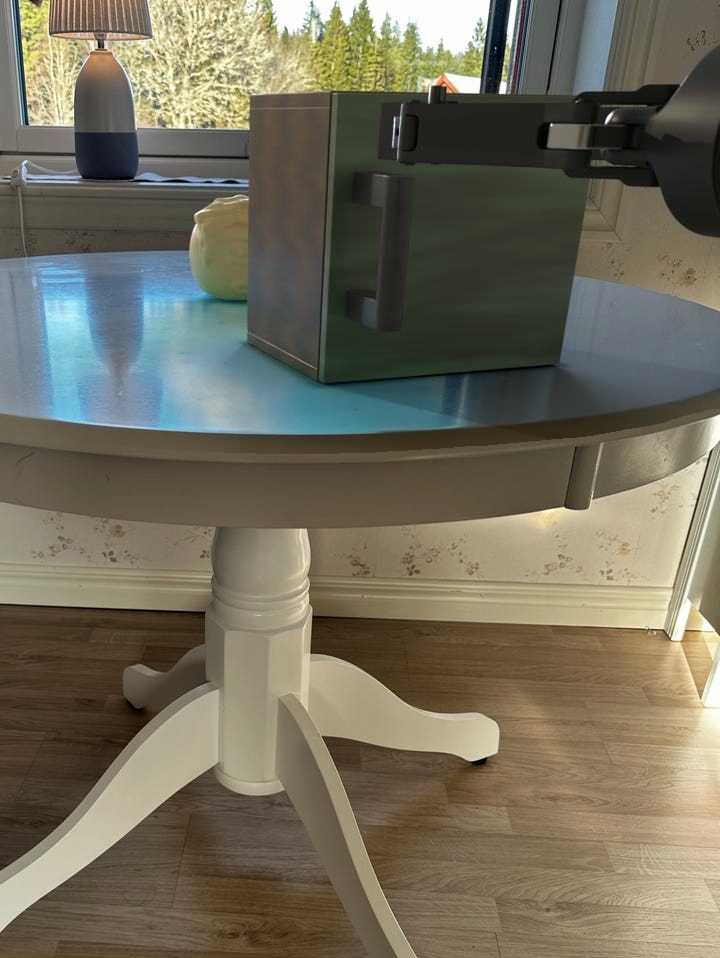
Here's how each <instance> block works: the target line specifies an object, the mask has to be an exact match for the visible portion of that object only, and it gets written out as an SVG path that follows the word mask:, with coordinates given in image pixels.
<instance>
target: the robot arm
mask: <svg viewBox="0 0 720 958" xmlns="http://www.w3.org/2000/svg"><path fill="white" fill-rule="evenodd" d="M428 92H429V101H424V102H420V100H409V102H388V103H381V117H380V131H379V145H378V159H383V160H396V161H397V162H399V163H402V164H404V165H406V166H414V165H415V164H417V163H430V164H431V165H440V164H460V165H484V166H508V167H532V168H549V169H563V171H564V173H565V175H567V176H568V177H570V178H586V179H590V180H591V179H592V180H617V181H620V182H621V183H622V184H623V185H625V186H626V187H632V188H633V187H634V188H660V191H661V195H662V198H663V200H664V203H665V205H666V207H667V209H668V211H669V212H670V213H671V216H672V217H673V218H674V219H675V220H676V221H677V222H678V223H679V224H680V225H681V226H682V227H683V228H684V229H686V230H688V231H690V232H692V233H694V234H696V235H699V236H703V237H709V238H717V239H720V43H719V44H717V45H716V46H714V47H713V48H711V50H709V51H708V52H707V53H706V54H705V55H704V56H703V57H702V58H700V59H699V61H698V62H697V63H696V64H695V65H694V66H693V67H692V69H691V70H690V71H689V73H688V74H687V75H686V77H685V78H684V80H683V81H682V82H681V83H680V84H679V83H654V84H653V83H650V84H649V83H648V84H644V85H642V86H641V87H639V88H638V89H636V90H615V91H614V90H601V91H600V90H591V91H590V90H586V91H581V92H580V93H578V94H576V95H577V96H576V98H575V99H574V100H573V102H572V103H458V101H446V93H448V85H437V84H436V85H435V84H434V85H429V91H428ZM600 106H602V107H600ZM591 160H593V161H604V162H607V163H609V164H610V165H594V164H593V165H590V162H591Z"/></svg>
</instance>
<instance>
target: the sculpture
mask: <svg viewBox="0 0 720 958" xmlns="http://www.w3.org/2000/svg"><path fill="white" fill-rule="evenodd" d="M248 201H249V196H246V195H243V194H238V195H235V196H233V197H217V198H215V199H214V201H213V202H211V204H210V205H208V206H206V207H204V208H203V209H201V210H199V211H197V212H196V213H195V214H194V215H193V219H194V222H195V225H194V228H193V230H192V233H191V236H190V240H189V253H188V254H189V255H188V256H189V263H190V268H191V273H192V275H193V279H194V280H195V283H196V284H197V286H198V287H199V289H200V290H201V291H203V292H204V293H206V294H207V295H209V296H211V297H213V298H216V299H220V300H225V301H247V289H248Z"/></svg>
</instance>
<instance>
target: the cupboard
mask: <svg viewBox="0 0 720 958" xmlns="http://www.w3.org/2000/svg"><path fill="white" fill-rule="evenodd" d="M429 92H430V91H428V92H427V91H382V90H381V91H379V90H378V91H376V90H333V89H332V90H314V91H313V90H312V91H295V92H293V91H291V92H272V93H253V94H249V115H248V116H249V121H248V126H249V128H248V197H249V201H248V289H247V300H246V301H247V303H246V305H247V306H246V307H247V308H246V331H247V332H246V343H248V344H250V345H252V346H253V347H255V348H256V349H259V350H260V351H262V352H263V353H266V354H267V355H269V356H271V357H273V358H274V359H276V360H279V361H280V362H281V363H283V364H285V365H287V366H289V367H290V368H292V369H294V370H295V371H297V372H298V373H301V374H303V375H304V376H307V377H308V378H310V379H312V380H314V381H315V382H318V383H319V382H320V381H319V365H320V344H321V323H322V302H323V281H324V260H325V239H326V218H327V197H328V176H329V155H330V134H331V113H332V94H333V93H385V94H429ZM446 95H491V96H544V97H576V96H577V95H578V94H536V93H535V94H533V93H531V94H530V93H529V94H528V93H527V94H526V93H484V92H483V93H481V92H480V93H479V92H478V93H477V92H447V93H446Z"/></svg>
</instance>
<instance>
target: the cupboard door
mask: <svg viewBox="0 0 720 958" xmlns="http://www.w3.org/2000/svg"><path fill="white" fill-rule="evenodd" d="M575 98H576V97H544V96H491V95H446V101H458V103H572V102H573V100H574V99H575ZM409 100H420V102H424V101H429V94H385V93H333V94H332V113H331V134H330V155H329V176H328V197H327V218H326V239H325V260H324V281H323V302H322V323H321V344H320V365H319V382H321V383H322V384H332V383H334V384H335V383H345V382H346V383H347V382H357V381H368V380H369V381H371V380H382V379H393V378H394V379H395V378H406V377H417V376H430V375H431V376H432V375H442V374H453V373H467V372H479V371H491V370H504V369H513V368H514V369H515V368H526V367H527V368H528V367H537V366H539V367H541V366H550V365H559V364H560V363H561V358H562V351H563V345H564V339H565V338H564V337H565V333H566V327H567V320H568V316H569V315H568V314H569V308H570V304H571V303H570V302H571V296H572V291H573V284H574V279H575V274H576V273H575V272H576V267H577V262H578V255H579V250H580V249H579V248H580V243H581V236H582V232H583V231H582V230H583V226H584V220H585V219H584V218H585V212H586V206H587V202H588V194H589V189H590V183H591V179H586V178H570V177H568V176H567V175H565V173H564V171H563V169H549V168H532V167H508V166H484V165H460V164H440V165H431V164H430V163H417V164H415V165H414V166H406V165H404V164H402V163H399V162H397V161H396V160H383V159H378V145H379V131H380V117H381V103H388V102H409ZM600 107H603V105H602V106H600ZM590 165H594V160H591V162H590Z"/></svg>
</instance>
